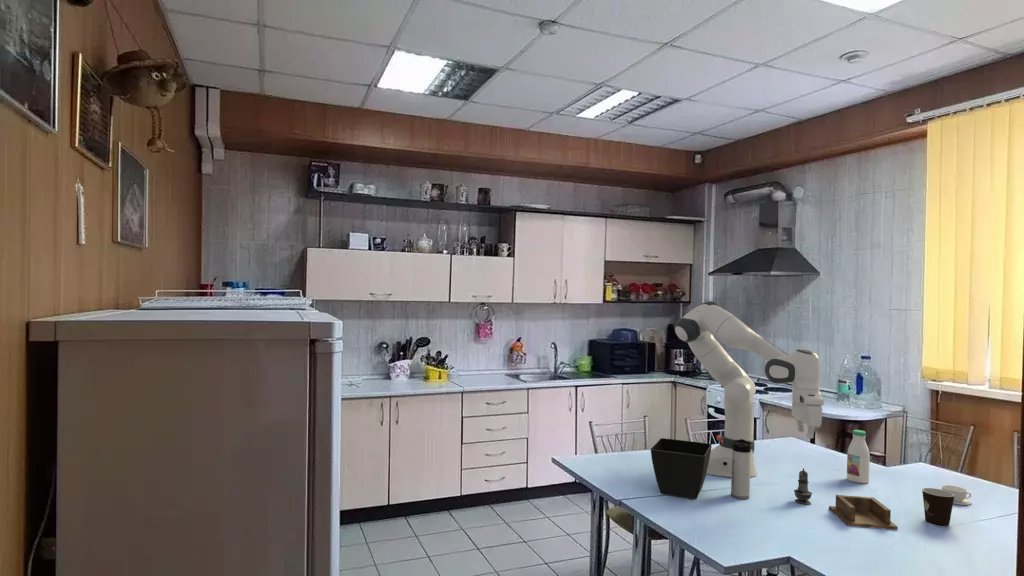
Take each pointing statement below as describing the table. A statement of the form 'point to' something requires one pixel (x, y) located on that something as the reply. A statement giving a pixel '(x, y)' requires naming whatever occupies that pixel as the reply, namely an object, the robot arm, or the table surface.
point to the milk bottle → (858, 458)
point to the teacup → (958, 494)
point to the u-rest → (862, 512)
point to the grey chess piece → (803, 489)
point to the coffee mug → (937, 506)
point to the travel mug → (741, 469)
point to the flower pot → (680, 466)
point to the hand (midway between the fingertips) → (805, 434)
